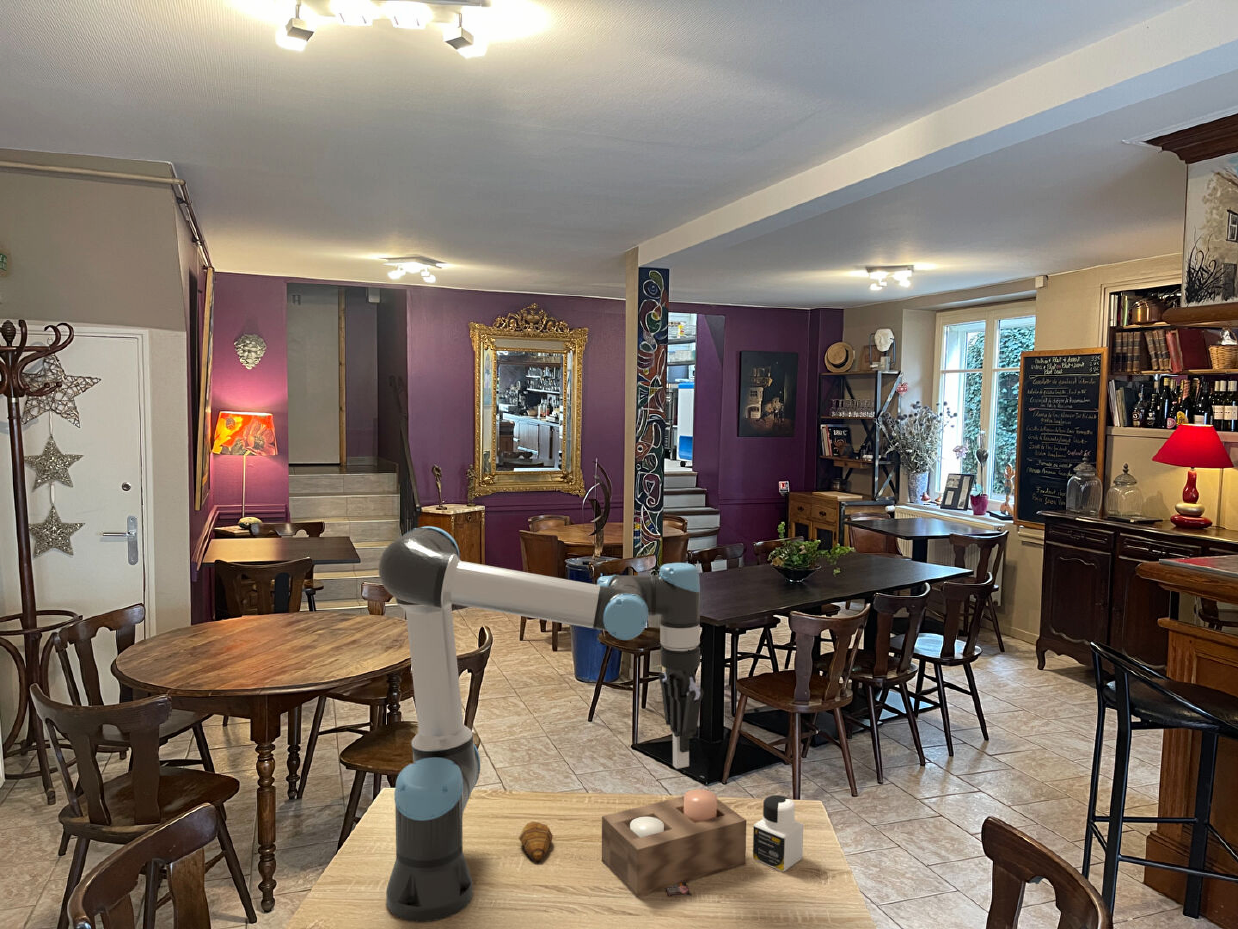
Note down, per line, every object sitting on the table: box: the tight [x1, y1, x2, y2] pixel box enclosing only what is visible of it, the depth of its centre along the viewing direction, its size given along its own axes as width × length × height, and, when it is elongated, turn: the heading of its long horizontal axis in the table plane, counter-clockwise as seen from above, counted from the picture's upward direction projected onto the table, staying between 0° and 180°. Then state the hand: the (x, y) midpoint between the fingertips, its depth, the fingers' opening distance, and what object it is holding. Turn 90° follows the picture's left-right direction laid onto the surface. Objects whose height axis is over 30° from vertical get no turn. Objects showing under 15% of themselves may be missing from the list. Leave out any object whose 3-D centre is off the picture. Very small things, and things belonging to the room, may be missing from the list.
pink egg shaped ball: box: [683, 788, 718, 823], centre depth 172 cm, size 6×6×8 cm
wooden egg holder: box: [601, 795, 747, 898], centre depth 169 cm, size 24×14×9 cm, turn 118°
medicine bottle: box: [752, 794, 804, 873], centre depth 171 cm, size 7×7×12 cm
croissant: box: [518, 821, 554, 863], centre depth 175 cm, size 14×7×5 cm, turn 10°
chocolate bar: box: [664, 882, 693, 898], centre depth 163 cm, size 11×5×1 cm, turn 10°
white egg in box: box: [630, 817, 664, 837], centre depth 166 cm, size 6×6×8 cm
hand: (680, 766), depth 168 cm, fingers closed
